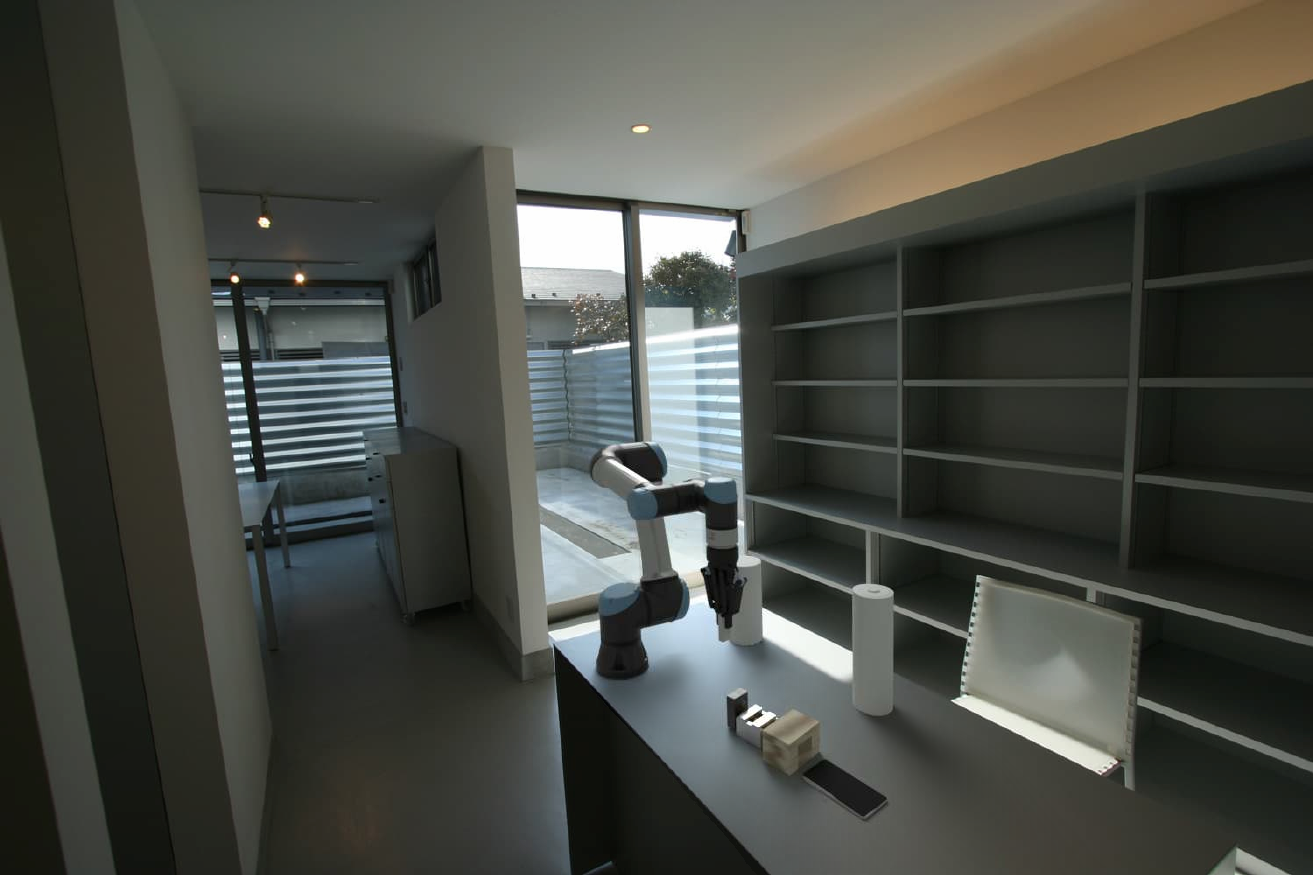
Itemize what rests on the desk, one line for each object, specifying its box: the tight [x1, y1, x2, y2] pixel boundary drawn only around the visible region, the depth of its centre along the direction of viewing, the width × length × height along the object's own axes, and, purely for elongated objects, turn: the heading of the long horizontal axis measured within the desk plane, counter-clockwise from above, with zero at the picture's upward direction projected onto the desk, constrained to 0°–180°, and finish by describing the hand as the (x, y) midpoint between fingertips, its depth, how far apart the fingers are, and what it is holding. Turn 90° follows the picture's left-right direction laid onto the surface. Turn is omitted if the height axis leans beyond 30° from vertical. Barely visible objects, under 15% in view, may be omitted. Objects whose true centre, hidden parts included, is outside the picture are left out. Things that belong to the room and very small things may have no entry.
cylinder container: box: [851, 583, 895, 717], centre depth 146 cm, size 9×9×30 cm
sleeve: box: [736, 704, 779, 751], centre depth 137 cm, size 7×6×5 cm
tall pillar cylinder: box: [728, 554, 764, 647], centre depth 185 cm, size 11×11×25 cm
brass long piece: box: [725, 687, 771, 731], centre depth 135 cm, size 18×5×8 cm, turn 41°
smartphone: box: [801, 758, 888, 821], centre depth 120 cm, size 8×1×15 cm
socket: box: [762, 708, 821, 777], centre depth 130 cm, size 7×11×7 cm, turn 131°
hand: (724, 639), depth 142 cm, fingers closed
